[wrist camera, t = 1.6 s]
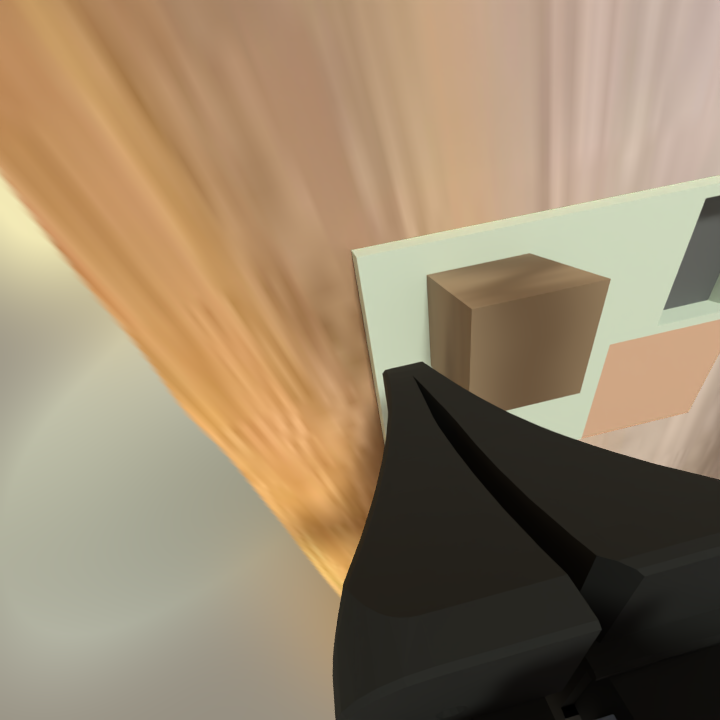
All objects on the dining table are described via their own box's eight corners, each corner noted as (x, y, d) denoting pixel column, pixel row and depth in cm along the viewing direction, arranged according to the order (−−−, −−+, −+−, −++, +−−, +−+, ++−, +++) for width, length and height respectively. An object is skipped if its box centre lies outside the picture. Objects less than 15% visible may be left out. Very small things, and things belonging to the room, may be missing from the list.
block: (529, 253, 13) (610, 278, 9) (518, 345, 15) (580, 393, 12) (426, 275, 13) (471, 309, 9) (430, 365, 15) (468, 419, 12)
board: (773, 163, 14) (819, 162, 13) (665, 398, 21) (688, 412, 20) (351, 250, 13) (356, 257, 12) (388, 465, 20) (393, 484, 19)
